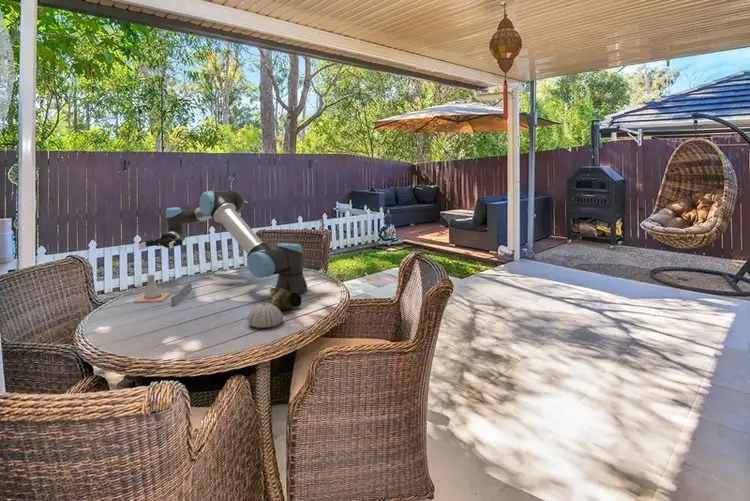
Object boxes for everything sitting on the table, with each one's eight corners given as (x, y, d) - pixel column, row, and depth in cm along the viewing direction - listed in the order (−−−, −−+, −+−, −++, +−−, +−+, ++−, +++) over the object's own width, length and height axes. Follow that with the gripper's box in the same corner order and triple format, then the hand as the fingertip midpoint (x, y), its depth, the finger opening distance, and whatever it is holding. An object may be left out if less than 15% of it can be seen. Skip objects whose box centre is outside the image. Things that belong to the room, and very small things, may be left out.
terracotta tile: (144, 295, 208) (144, 293, 208) (171, 294, 210) (170, 292, 209) (133, 303, 196) (133, 301, 196) (162, 301, 198) (161, 300, 198)
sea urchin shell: (250, 319, 175) (249, 299, 174) (285, 317, 177) (284, 298, 175) (244, 331, 162) (243, 310, 161) (282, 329, 164) (281, 308, 162)
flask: (156, 293, 208) (153, 272, 206) (164, 296, 204) (162, 274, 202) (140, 297, 202) (138, 276, 200) (149, 300, 198) (147, 278, 196)
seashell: (293, 315, 179) (292, 291, 177) (267, 314, 181) (266, 290, 179) (303, 307, 189) (302, 284, 187) (277, 306, 191) (276, 283, 189)
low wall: (189, 289, 217) (188, 281, 216) (191, 289, 217) (191, 281, 216) (171, 306, 192) (171, 297, 191) (174, 306, 192) (173, 297, 191)
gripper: (195, 245, 232) (183, 253, 211) (145, 247, 229) (127, 255, 208) (194, 231, 230) (181, 237, 209) (143, 233, 227) (125, 239, 207)
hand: (154, 246), depth 209 cm, fingers open, 13 cm apart
